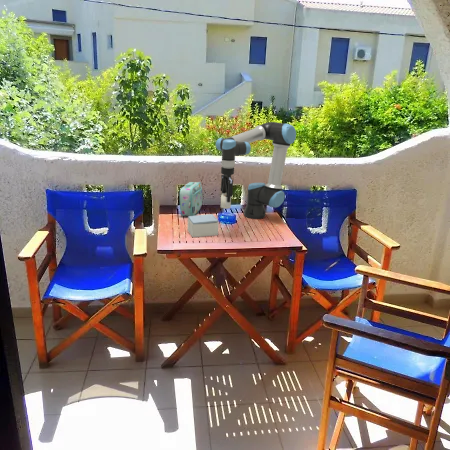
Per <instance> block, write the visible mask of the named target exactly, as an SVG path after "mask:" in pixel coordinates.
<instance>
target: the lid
mask: <svg viewBox="0 0 450 450" xmlns="http://www.w3.org/2000/svg"><path fill="white" fill-rule="evenodd" d="M188 218H189V220H190V221H191V222H192V224H203V223H213V222H218V223H219V219H218V218H217V217H216V216H215V215H214V214H212V213H211V214H200V215H199V214H196V215H195V216H187V219H188Z"/></svg>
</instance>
